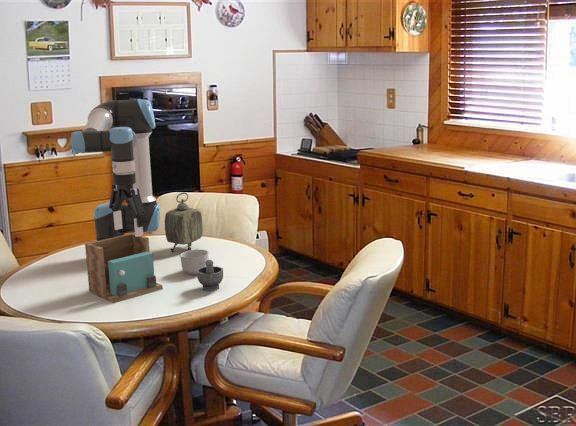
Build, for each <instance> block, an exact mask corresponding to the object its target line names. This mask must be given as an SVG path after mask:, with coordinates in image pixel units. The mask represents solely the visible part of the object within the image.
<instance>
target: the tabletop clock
mask: <svg viewBox="0 0 576 426" xmlns="http://www.w3.org/2000/svg"><path fill="white" fill-rule="evenodd" d="M181 195H186V198H185V199H183V198H182V199H180V201H179V200H178V199H179V197H180V196H181ZM188 199H189V195H188V193H187V192H180V193H178V194H177V195H176V199H175V200H176V202H177V203H178V204H177V206H176V207H175V208H172V209H170V210H168V211H167V212H166V213H165V214H164V215H165V216H164V231H165V238H166V241H167V242H168V243H172V244H174V245H173V247H172V248H170V252H171V253H173V252H175V248H176V247H177V246H178V245H183V246H184V245H187V251H189V250H192V247H191V246H192V243H194V242H196V241H198V240H201V238H203V237H202V236H203V216H202V212H201V211H200V210H199V209H198V208H191V207H190V206H189V204H187V203H186V201H188Z"/></svg>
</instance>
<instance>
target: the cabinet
mask: <svg viewBox="0 0 576 426" xmlns="http://www.w3.org/2000/svg"><path fill="white" fill-rule="evenodd" d="M84 246H85V247H84V249H85V256H86V257H85V258H86V269H87V271H86V272H87V280H88V290H89V291H88V292H89V293H91V294H93V295H95V296H97V297H100V298H102V299H104V300H106V301H109V302H111V303H112V304H115V303H118V302H122V301H125V300H129V299H133V298H136V297H140V296H143V295H147V294H149V293H154V292H156V291H160V290H163V289H164V288H163V284H160V283H158V282H157V276H156V275H154V276H150V277H147V284H148V287H147V288H143V289H140V290H136V291H133V292H129V293H127V285H126V284H125V283H124V284H121V285H117V287H118V296H114V295H112V294H111V291H110V279H109V267H108V261H110V260H115V259H119V258H123V257H127V256H131V255H135V254H139V253H143V252H150V253H151V251H150V241H149V237H148V236H146V235H142V236H138V237H136V236H135V233H126V234H125V235H122V236H118V237H113V238H109V239H104V240H100V241H91V242H87V243H84Z"/></svg>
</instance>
